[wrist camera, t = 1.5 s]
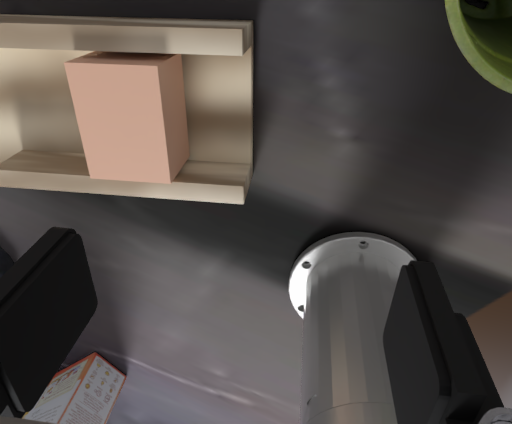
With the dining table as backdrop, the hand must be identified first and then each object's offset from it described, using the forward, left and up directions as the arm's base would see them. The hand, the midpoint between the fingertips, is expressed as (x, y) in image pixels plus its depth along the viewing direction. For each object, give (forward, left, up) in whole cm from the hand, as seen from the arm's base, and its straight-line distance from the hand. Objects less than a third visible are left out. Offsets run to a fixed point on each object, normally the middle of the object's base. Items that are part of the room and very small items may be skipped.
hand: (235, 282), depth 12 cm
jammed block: (-1, +10, -20) cm, 23 cm away
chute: (-1, +14, -22) cm, 26 cm away
